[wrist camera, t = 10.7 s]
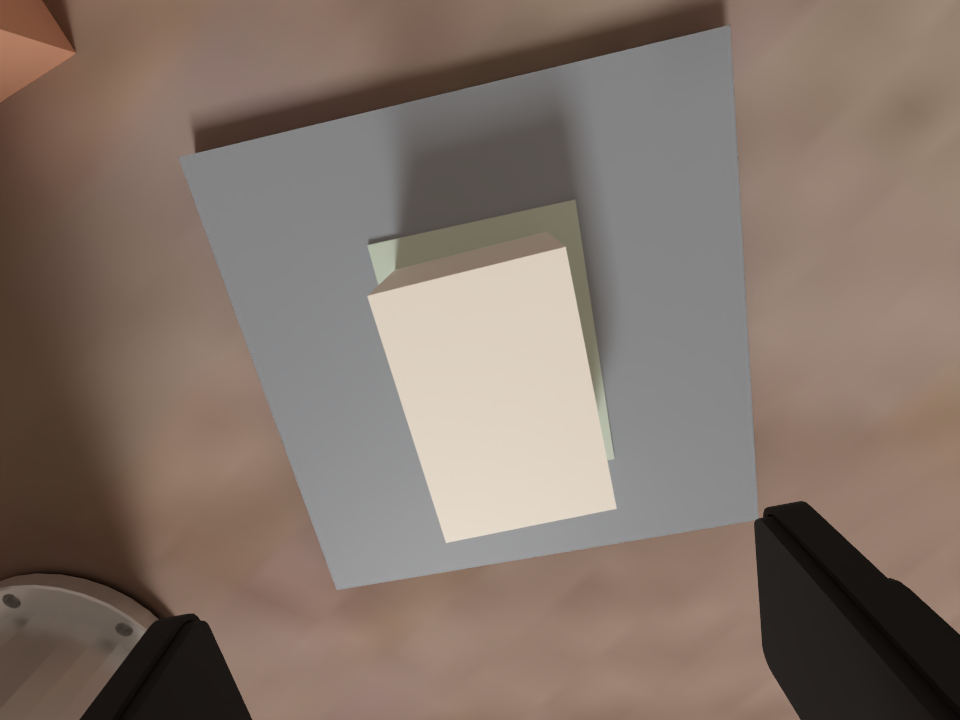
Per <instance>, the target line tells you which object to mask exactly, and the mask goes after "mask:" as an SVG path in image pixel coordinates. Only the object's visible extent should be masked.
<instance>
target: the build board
mask: <svg viewBox="0 0 960 720" xmlns="http://www.w3.org/2000/svg"><path fill="white" fill-rule="evenodd" d="M178 158H179V161H180V163H181V166H182V169H183V172H184V174H185V177H186V180H187V182H188V185H189V188H190V191H191V193H192V196H193V199H194V202H195V204H196V207H197V210H198V212H199V215H200V218H201V221H202V223H203V226H204V229H205V232H206V234H207V237H208V240H209V243H210V245H211V248H212V251H213V253H214V256H215V259H216V262H217V264H218V267H219V270H220V273H221V275H222V278H223V281H224V283H225V286H226V289H227V292H228V294H229V297H230V300H231V303H232V305H233V308H234V311H235V314H236V316H237V319H238V322H239V324H240V327H241V330H242V333H243V335H244V338H245V341H246V344H247V346H248V349H249V352H250V354H251V357H252V360H253V363H254V365H255V368H256V371H257V374H258V376H259V379H260V382H261V385H262V387H263V390H264V393H265V395H266V398H267V401H268V404H269V406H270V409H271V412H272V415H273V417H274V420H275V423H276V425H277V428H278V431H279V434H280V436H281V439H282V442H283V445H284V447H285V450H286V453H287V455H288V458H289V461H290V464H291V466H292V469H293V472H294V475H295V477H296V480H297V483H298V486H299V488H300V491H301V494H302V496H303V499H304V502H305V505H306V507H307V510H308V513H309V516H310V518H311V521H312V524H313V526H314V529H315V532H316V535H317V537H318V540H319V543H320V546H321V548H322V551H323V554H324V557H325V559H326V562H327V565H328V567H329V570H330V573H331V576H332V578H333V581H334V584H335V587H336V589H337V590H340V589H346V588H352V587H358V586H364V585H370V584H376V583H382V582H388V581H394V580H400V579H406V578H412V577H418V576H424V575H430V574H436V573H442V572H448V571H454V570H460V569H466V568H472V567H478V566H484V565H490V564H496V563H502V562H508V561H514V560H520V559H526V558H532V557H538V556H544V555H550V554H556V553H562V552H568V551H574V550H580V549H586V548H592V547H598V546H604V545H610V544H616V543H622V542H628V541H634V540H640V539H646V538H652V537H658V536H664V535H670V534H676V533H682V532H688V531H694V530H700V529H706V528H712V527H718V526H724V525H730V524H736V523H742V522H748V521H754V520H756V519H759V518H758V500H757V483H756V466H755V448H754V431H753V414H752V396H751V379H750V362H749V344H748V327H747V310H746V292H745V275H744V258H743V240H742V223H741V206H740V188H739V171H738V154H737V136H736V119H735V102H734V84H733V67H732V50H731V32H730V25H727V26H723V27H719V28H715V29H711V30H707V31H702V32H698V33H694V34H690V35H686V36H682V37H677V38H673V39H669V40H665V41H661V42H657V43H653V44H648V45H644V46H640V47H636V48H632V49H628V50H623V51H619V52H615V53H611V54H607V55H603V56H598V57H594V58H590V59H586V60H582V61H578V62H573V63H569V64H565V65H561V66H557V67H553V68H548V69H544V70H540V71H536V72H532V73H528V74H523V75H519V76H515V77H511V78H507V79H503V80H499V81H494V82H490V83H486V84H482V85H478V86H474V87H469V88H465V89H461V90H457V91H453V92H449V93H444V94H440V95H436V96H432V97H428V98H424V99H419V100H415V101H411V102H407V103H403V104H399V105H394V106H390V107H386V108H382V109H378V110H374V111H369V112H365V113H361V114H357V115H353V116H349V117H345V118H340V119H336V120H332V121H328V122H324V123H320V124H315V125H311V126H307V127H303V128H299V129H295V130H290V131H286V132H282V133H278V134H274V135H270V136H265V137H261V138H257V139H253V140H249V141H245V142H240V143H236V144H232V145H228V146H224V147H220V148H215V149H211V150H207V151H203V152H199V153H195V154H191V155H186V156H182V157H178ZM544 232H549V233H550V234H551V235H552V236H553V237H555V238H556V239H557V240H558V241H559V242H561V243H562V244H563V245H564V246H565V247H566V251H567V256H568V261H569V266H570V271H571V276H572V281H573V287H574V292H575V297H576V302H577V307H578V312H579V317H580V323H581V328H582V333H583V338H584V343H585V348H586V353H587V358H588V364H589V369H590V374H591V379H592V384H593V389H594V394H595V399H596V405H597V410H598V415H599V420H600V425H601V430H602V435H603V441H604V446H605V451H606V456H607V461H608V466H609V471H610V476H611V482H612V487H613V492H614V497H615V502H616V507H617V509H613V510H608V511H603V512H598V513H593V514H588V515H583V516H578V517H573V518H568V519H563V520H558V521H553V522H548V523H543V524H538V525H533V526H528V527H523V528H518V529H513V530H508V531H503V532H498V533H494V534H489V535H484V536H479V537H474V538H469V539H464V540H459V541H454V542H449V543H446V542H445V538H444V535H443V532H442V529H441V526H440V523H439V520H438V516H437V513H436V510H435V507H434V504H433V501H432V498H431V495H430V491H429V488H428V485H427V482H426V479H425V476H424V473H423V469H422V466H421V463H420V460H419V457H418V454H417V451H416V448H415V444H414V441H413V438H412V435H411V432H410V429H409V426H408V422H407V419H406V416H405V413H404V410H403V407H402V404H401V401H400V397H399V394H398V391H397V388H396V385H395V382H394V379H393V375H392V372H391V369H390V366H389V363H388V360H387V357H386V353H385V350H384V347H383V344H382V341H381V338H380V335H379V332H378V328H377V325H376V322H375V319H374V316H373V313H372V310H371V306H370V303H369V300H368V297H367V295H369V294H370V293H371V292H372V291H373V290H374V289H375V288H376V287H377V286H378V285H379V284H380V283H381V282H382V281H384V280H385V279H386V278H387V277H388V276H389V275H390V274H391V273H392V272H393V271H394V270H396V269H400V268H404V267H408V266H412V265H416V264H420V263H424V262H428V261H432V260H436V259H440V258H444V257H448V256H452V255H456V254H460V253H464V252H468V251H472V250H476V249H480V248H484V247H488V246H492V245H496V244H500V243H504V242H508V241H512V240H516V239H520V238H524V237H528V236H532V235H536V234H540V233H544Z"/></svg>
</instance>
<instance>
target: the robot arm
mask: <svg viewBox="0 0 960 720" xmlns="http://www.w3.org/2000/svg"><path fill="white" fill-rule="evenodd" d="M754 529H755V544H756V559H757V574H758V589H759V603H760V618H761V633H762V646H763V652H764V655H765V658H766V661H767V664H768V666H769V668H770V670H771V672H772V674H773V675H774V677H775V678H776V680H777V682H778V683H779V685H780V687H781V688H782V690H783V691H784V693H785V695H786V696H787V698H788V700H789V701H790V703H791V704H792V706H793V708H794V709H795V711H796V713H797V714H798V716H799V717H800V719H801V720H960V635H959V634H958V633H957V632H956V631H955V630H954V629H953V628H952V627H951V626H950V625H948V624H947V623H946V622H945V621H944V620H943V619H942V618H941V617H940V616H939V615H938V614H936V613H935V612H934V611H933V610H932V609H931V608H930V607H929V606H928V605H927V604H926V603H924V602H923V601H922V600H921V599H920V598H919V597H918V596H917V595H916V594H915V593H914V592H912V591H911V590H910V589H909V588H908V587H906V586H905V585H904V584H902V583H901V582H899V581H897V580H894V579H891V578H887V577H886V576H885V575H884V574H882V573H881V572H880V571H879V570H878V569H877V568H876V567H875V566H874V565H873V564H872V563H871V562H870V561H869V560H868V559H866V558H865V557H864V556H863V555H862V554H861V553H860V552H859V551H858V550H857V549H856V548H855V547H854V546H853V545H852V544H850V543H849V542H848V541H847V540H846V539H845V538H844V537H843V536H842V535H841V534H840V533H839V532H838V531H837V530H836V529H835V528H833V527H832V526H831V525H830V524H829V523H828V522H827V521H826V520H825V519H824V518H823V517H822V516H821V515H820V514H819V513H817V512H816V511H815V510H814V509H813V508H812V507H811V506H810V505H809V504H807V503H806V502H803V501H799V502H794V503H788V504H783V505H777V506H772V507H767V508H766V509H765V510H764V513H763V518H759V519H756V520H755V523H754ZM0 720H252V718H251V716H250V714H249V712H248V710H247V707H246V705H245V703H244V701H243V699H242V696H241V694H240V692H239V690H238V688H237V686H236V683H235V681H234V679H233V677H232V675H231V672H230V670H229V668H228V666H227V664H226V662H225V659H224V657H223V655H222V653H221V651H220V648H219V646H218V644H217V642H216V640H215V637H214V635H213V633H212V631H211V629H210V627H209V625H208V624H207V622H205V621H200V619H199V618H198V616H196V615H195V614H184V615H179V616H173V617H168V618H163V619H158V618H157V617H155V616H154V615H153V614H152V613H151V612H150V611H149V610H148V609H146V608H145V607H143V606H142V605H140V604H139V603H137V602H136V601H134V600H133V599H132V598H130V597H128V596H126V595H124V594H122V593H120V592H118V591H116V590H114V589H112V588H110V587H108V586H105V585H102V584H99V583H96V582H93V581H90V580H87V579H83V578H77V577H72V576H67V575H61V574H29V575H21V576H14V577H11V578H8V579H5V580H2V581H0Z"/></svg>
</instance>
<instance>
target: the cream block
mask: <svg viewBox="0 0 960 720" xmlns="http://www.w3.org/2000/svg"><path fill="white" fill-rule="evenodd" d="M367 297H368V300H369V303H370V306H371V310H372V313H373V316H374V319H375V322H376V325H377V328H378V332H379V335H380V338H381V341H382V344H383V347H384V350H385V353H386V357H387V360H388V363H389V366H390V369H391V372H392V375H393V379H394V382H395V385H396V388H397V391H398V394H399V397H400V401H401V404H402V407H403V410H404V413H405V416H406V419H407V422H408V426H409V429H410V432H411V435H412V438H413V441H414V444H415V448H416V451H417V454H418V457H419V460H420V463H421V466H422V469H423V473H424V476H425V479H426V482H427V485H428V488H429V491H430V495H431V498H432V501H433V504H434V507H435V510H436V513H437V516H438V520H439V523H440V526H441V529H442V532H443V535H444V538H445V542H446V543H449V542H454V541H459V540H464V539H469V538H474V537H479V536H484V535H489V534H494V533H498V532H503V531H508V530H513V529H518V528H523V527H528V526H533V525H538V524H543V523H548V522H553V521H558V520H563V519H568V518H573V517H578V516H583V515H588V514H593V513H598V512H603V511H608V510H613V509H617V507H616V502H615V497H614V492H613V487H612V482H611V476H610V471H609V466H608V461H607V456H606V451H605V446H604V441H603V435H602V430H601V425H600V420H599V415H598V410H597V405H596V399H595V394H594V389H593V384H592V379H591V374H590V369H589V364H588V358H587V353H586V348H585V343H584V338H583V333H582V328H581V323H580V317H579V312H578V307H577V302H576V297H575V292H574V287H573V281H572V276H571V271H570V266H569V261H568V256H567V251H566V247H565V246H564V245H563V244H562V243H561V242H559V241H558V240H557V239H556V238H555V237H553V236H552V235H551V234H550V233H549V232H544V233H540V234H536V235H532V236H528V237H524V238H520V239H516V240H512V241H508V242H504V243H500V244H496V245H492V246H488V247H484V248H480V249H476V250H472V251H468V252H464V253H460V254H456V255H452V256H448V257H444V258H440V259H436V260H432V261H428V262H424V263H420V264H416V265H412V266H408V267H404V268H400V269H396V270H394V271H393V272H392V273H391V274H390V275H389V276H388V277H387V278H386V279H385V280H384V281H382V282H381V283H380V284H379V285H378V286H377V287H376V288H375V289H374V290H373V291H372V292H371V293H370V294H369V295H367Z"/></svg>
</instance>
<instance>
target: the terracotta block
mask: <svg viewBox="0 0 960 720" xmlns="http://www.w3.org/2000/svg"><path fill="white" fill-rule="evenodd" d="M74 54H76V52H75V50H74V49H73V47H72V46H71V44H70V43H69V41H68V40H67V38H66V36H65V35H64V33H63V32H62V30H61V29H60V27H59V26H58V24H57V22H56V21H55V19H54V18H53V16H52V15H51V13H50V12H49V10H48V9H47V7H46V5H45V4H44V2H43V1H42V0H0V102H2V101H3V100H5V99H6V98H8V97H9V96H11V95H12V94H14V93H16V92H17V91H19V90H20V89H22V88H23V87H25V86H26V85H28V84H30V83H31V82H33V81H34V80H36V79H37V78H39V77H40V76H42V75H43V74H45V73H47V72H48V71H50V70H51V69H53V68H54V67H56V66H57V65H59V64H61V63H62V62H64V61H65V60H67V59H68V58H70V57H71V56H73V55H74Z"/></svg>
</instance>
